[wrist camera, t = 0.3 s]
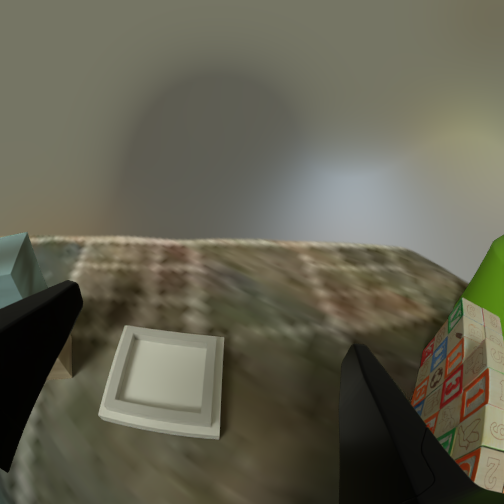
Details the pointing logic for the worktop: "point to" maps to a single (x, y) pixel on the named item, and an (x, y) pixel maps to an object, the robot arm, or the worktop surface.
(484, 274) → the spray bottle
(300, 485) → the worktop surface
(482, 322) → the stack of blocks
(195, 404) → the base plate
